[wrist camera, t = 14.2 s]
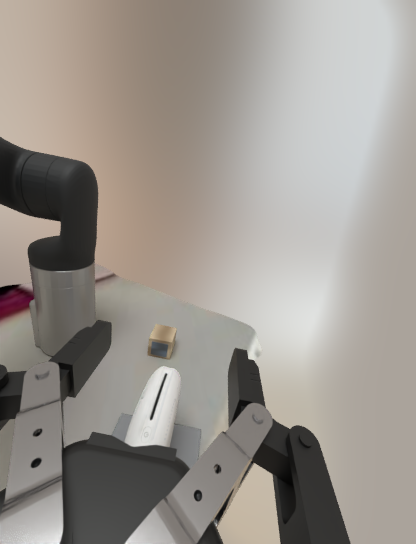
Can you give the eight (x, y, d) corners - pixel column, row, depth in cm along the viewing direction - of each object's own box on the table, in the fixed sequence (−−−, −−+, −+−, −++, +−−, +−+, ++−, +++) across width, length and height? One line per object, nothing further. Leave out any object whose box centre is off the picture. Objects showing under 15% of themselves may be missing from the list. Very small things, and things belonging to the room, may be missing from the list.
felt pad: (79, 507, 23) (79, 505, 23) (121, 415, 32) (121, 413, 32) (190, 529, 23) (191, 528, 23) (200, 430, 32) (201, 429, 32)
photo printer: (152, 524, 23) (165, 454, 18) (112, 515, 23) (115, 443, 18) (175, 423, 32) (187, 361, 27) (147, 417, 32) (154, 354, 28)
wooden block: (147, 356, 43) (148, 338, 42) (154, 340, 48) (156, 324, 46) (169, 360, 44) (171, 343, 42) (174, 344, 48) (176, 328, 46)
